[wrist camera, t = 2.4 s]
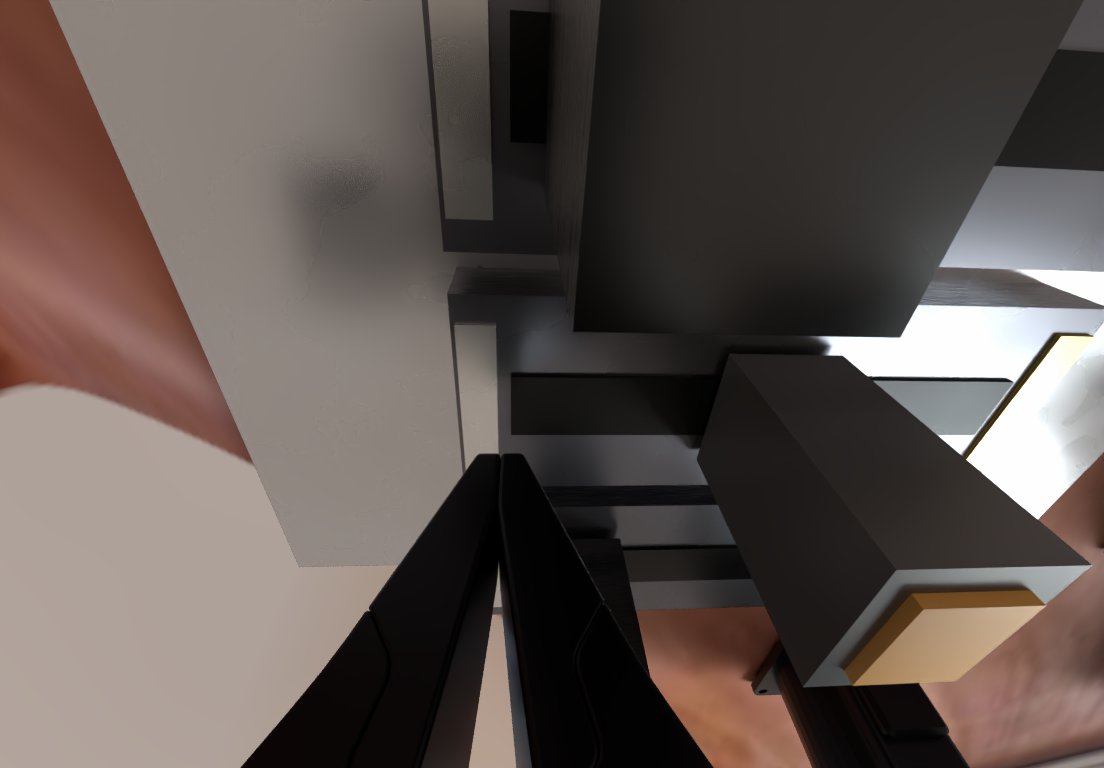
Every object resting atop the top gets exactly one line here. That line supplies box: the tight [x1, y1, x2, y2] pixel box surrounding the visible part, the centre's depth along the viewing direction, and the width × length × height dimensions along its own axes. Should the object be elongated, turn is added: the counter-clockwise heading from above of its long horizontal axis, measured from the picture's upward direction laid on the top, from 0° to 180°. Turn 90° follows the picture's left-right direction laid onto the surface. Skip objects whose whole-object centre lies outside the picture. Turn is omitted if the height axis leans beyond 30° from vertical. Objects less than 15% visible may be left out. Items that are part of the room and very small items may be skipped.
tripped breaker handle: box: [696, 354, 1092, 687], centre depth 8 cm, size 3×2×5 cm
